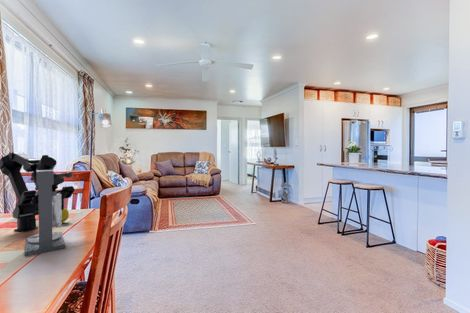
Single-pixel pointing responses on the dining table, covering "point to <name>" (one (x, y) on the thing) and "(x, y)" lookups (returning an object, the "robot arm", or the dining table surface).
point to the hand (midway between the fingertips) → (55, 210)
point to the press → (45, 216)
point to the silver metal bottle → (56, 209)
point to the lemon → (65, 215)
